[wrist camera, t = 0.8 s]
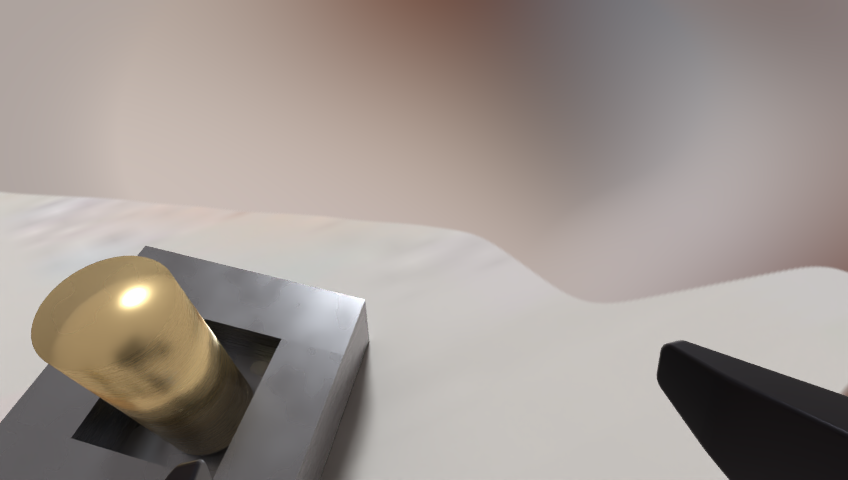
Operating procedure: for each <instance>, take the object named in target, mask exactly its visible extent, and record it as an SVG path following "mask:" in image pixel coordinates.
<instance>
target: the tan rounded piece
mask: <svg viewBox="0 0 848 480" xmlns="http://www.w3.org/2000/svg"><path fill="white" fill-rule="evenodd" d="M31 339H32V344H33V347H34V349H35V351H36V353H37V354H38V355H39V357H41V358H42V359H43V360H44V361H45V362H47V363H48V364H50V365H51V366H53V367H54V368H56V369H57V370H59V371H60V372H62V373H63V374H65V375H66V376H68V377H69V378H71V379H72V380H74V381H76V382H77V383H79V384H80V385H82V386H83V387H85V388H86V389H88V390H89V391H91V392H92V393H94V394H95V395H97V396H98V397H100V398H101V399H103V400H104V401H106V402H107V403H109V404H111V405H112V406H114V407H115V408H117V409H118V410H120V411H121V412H123V413H124V414H126V415H127V416H129V417H130V418H132V419H133V420H135V421H136V422H138V423H139V424H141V425H142V426H144V427H146V428H147V429H149V430H150V431H152V432H153V433H155V434H156V435H158V436H159V437H161V438H162V439H164V440H165V441H167V442H168V443H170V444H171V445H173V446H174V447H176V448H177V449H179V450H181V451H182V452H185V453H187V454H191V455H207V454H212V453H215V452H218V451H220V450H222V449H224V448H225V447H227V446H229V445H230V443H231V441H232V439H233V437H234V435H235V433H236V431H237V429H238V427H239V425H240V423H241V420H242V418H243V416H244V414H245V412H246V410H247V408H248V406H249V404H250V402H251V400H252V398H253V396H254V395H253V391H252V389H251V387H250V385H249V383H248V382H247V381H246V379H245V378H244V376H243V375H242V373H241V372H240V371H239V369H238V368H237V366H236V365H235V364H234V362H233V361H232V359H231V358H230V356H229V355H228V354H227V352H226V351H225V349H224V348H223V346H222V345H221V344H220V342H219V341H218V339H217V338H216V337H215V335H214V334H213V332H212V331H211V329H210V328H209V327H208V325H207V324H206V322H205V321H204V319H203V318H202V317H201V315H200V314H199V312H198V311H197V310H196V308H195V307H194V305H193V304H192V302H191V301H190V300H189V298H188V297H187V295H186V294H185V292H184V291H183V290H182V288H181V287H180V285H179V284H178V283H177V281H176V280H175V278H174V277H173V275H172V274H171V273H170V271H169V270H168V269H167V268H166V267H165V266H164V265H162V264H161V263H159V262H157V261H155V260H153V259H150V258H146V257H141V256H121V257H114V258H109V259H105V260H102V261H99V262H96V263H94V264H91V265H89V266H87V267H85V268H83V269H81V270H79V271H77V272H75V273H74V274H72V275H71V276H69V277H68V278H66V279H65V280H64V281H62V282H61V283H60V284H59V285H58V286H57V287H56V288H55V289H54V290H53V291H52V292H51V293H50V294H49V295H48V296H47V297H46V298H45V300H44V301H43V303H42V304H41V306H40V307H39V309H38V311H37V313H36V315H35V318H34V320H33V324H32V329H31Z"/></svg>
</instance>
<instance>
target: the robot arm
mask: <svg viewBox="0 0 848 480" xmlns="http://www.w3.org/2000/svg"><path fill="white" fill-rule="evenodd" d="M657 380H658V383H659V385H660V387H661V389H662V390H663V392H664V393H665V395H666V396H667V397H668V399H669V400H670V402H671V403H672V404H673V406H674V407H675V409H676V410H677V412H678V413H679V414H680V416H681V417H682V419H683V420H684V421H685V423H686V424H687V426H688V427H689V428H690V430H691V431H692V433H693V434H694V436H695V437H696V438H697V440H698V441H699V443H700V444H701V445H702V447H703V448H704V449H705V451H706V452H707V453H708V455H709V456H710V457H711V458H712V460H713V461H714V462H715V463H716V464H717V466H718V467H719V468H720V469H721V470H722V472H723V473H724V474H725V475H726V476H727V478H728V479H729V480H848V397H847V396H845V395H842V394H839V393H836V392H833V391H830V390H827V389H824V388H821V387H818V386H815V385H812V384H809V383H807V382H804V381H801V380H798V379H795V378H792V377H789V376H786V375H783V374H780V373H777V372H774V371H772V370H769V369H766V368H763V367H760V366H757V365H754V364H751V363H748V362H745V361H742V360H739V359H736V358H734V357H731V356H728V355H725V354H722V353H719V352H716V351H713V350H710V349H707V348H704V347H701V346H699V345H696V344H693V343H690V342H687V341H682V340H680V341H675V342H671V343H667V344H665V345H663V347H662V348H661V352H660V357H659V363H658V369H657ZM164 480H212V478H211V475H210V472H209V470H208V467H207V465H206V463H205V462H204V461H203V460H194V461H190V462H186V463H182V464H179V465H177V466H176V467H175V468H174V469H173V470H172V471H171V472H170V473H169V474H168V476H167V477H166V478H165V479H164Z"/></svg>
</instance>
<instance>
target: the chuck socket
mask: <svg viewBox="0 0 848 480" xmlns="http://www.w3.org/2000/svg"><path fill="white" fill-rule="evenodd" d="M138 256H141V257H146V258H150V259H153V260H155V261H157V262H159V263H161V264H162V265H164V266H165V267H166V268H167V269H168V270H169V271H170V273H171V274H172V275H173V277H174V278H175V280H176V281H177V283H178V284H179V285H180V287H181V288H182V290H183V291H184V292H185V294H186V295H187V297H188V298H189V300H190V301H191V302H192V304H193V305H194V307H195V308H196V310H197V311H198V312H199V314H200V315H201V317H202V318H203V319H204V321H205V322H206V324H207V325H208V327H209V328H210V329H211V331H212V332H213V334H214V335H215V337H216V338H217V339H218V341H219V342H220V344H221V345H222V346H223V348H224V349H225V351H226V352H227V354H228V355H229V356H230V358H231V359H232V361H233V362H234V364H235V365H236V366H237V368H238V369H239V371H240V372H241V373H242V375H243V376H244V378H245V379H246V381H247V382H248V383H249V385H250V387H251V389H252V391H253V395H254V396H253V398H252V400H251V402H250V404H249V406H248V408H247V410H246V412H245V414H244V416H243V418H242V420H241V423H240V425H239V427H238V429H237V431H236V433H235V435H234V437H233V439H232V441H231V443H230V445H229V446H227V447H225V448H224V449H222V450H220V451H218V452H215V453H212V454H207V455H191V454H187V453H185V452H182V451H181V450H179V449H177V448H176V447H174V446H173V445H171V444H170V443H168V442H167V441H165V440H164V439H162V438H161V437H159V436H158V435H156V434H155V433H153V432H152V431H150V430H149V429H147V428H146V427H144V426H142V425H141V424H139V423H138V422H136V421H135V420H133V419H132V418H130V417H129V416H127V415H126V414H124V413H123V412H121V411H120V410H118V409H117V408H115V407H114V406H112V405H111V404H109V403H107V402H106V401H104V400H103V399H101V398H100V397H98V396H97V395H95V394H94V393H92V392H91V391H89V390H88V389H86V388H85V387H83V386H82V385H80V384H79V383H77V382H76V381H74V380H72V379H71V378H69V377H68V376H66V375H65V374H63V373H62V372H60V371H59V370H57V369H56V368H54V367H53V366H51V365H50V364H48V365H47V367H46V368H45V369H44V370H43V371H42V373H41V374H40V375H39V376H38V378H37V379H36V380H35V381H34V382H33V384H32V385H31V386H30V387H29V389H28V390H27V391H26V392H25V393H24V395H23V396H22V397H21V398H20V400H19V401H18V402H17V403H16V404H15V406H14V407H13V408H12V409H11V410H10V412H9V413H8V414H7V415H6V417H5V418H4V419H3V420H2V421H1V423H0V480H164V479H165V478H166V477H167V476H168V474H169V473H170V472H171V471H172V470H173V469H174V468H175V467H176V466H177V465H179V464H182V463H186V462H190V461H194V460H203V461H204V462H205V463H206V465H207V467H208V470H209V472H210V475H211V478H212V480H320V478H321V475H322V472H323V469H324V466H325V463H326V461H327V458H328V455H329V452H330V449H331V446H332V444H333V441H334V438H335V435H336V432H337V429H338V427H339V424H340V421H341V418H342V415H343V412H344V410H345V407H346V404H347V401H348V398H349V396H350V393H351V390H352V387H353V384H354V381H355V379H356V376H357V373H358V370H359V367H360V364H361V362H362V359H363V356H364V353H365V350H366V347H367V345H368V342H369V334H368V324H367V314H366V304H365V299H361V298H357V297H353V296H349V295H345V294H341V293H337V292H333V291H329V290H324V289H320V288H316V287H312V286H308V285H304V284H300V283H296V282H292V281H288V280H284V279H279V278H275V277H271V276H267V275H263V274H259V273H255V272H251V271H247V270H243V269H239V268H234V267H230V266H226V265H222V264H218V263H214V262H210V261H206V260H202V259H198V258H194V257H189V256H185V255H181V254H177V253H173V252H169V251H165V250H161V249H157V248H153V247H149V246H145V247H144V248H143V250H142V251H141V252H140V253H139V254H138Z"/></svg>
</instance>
